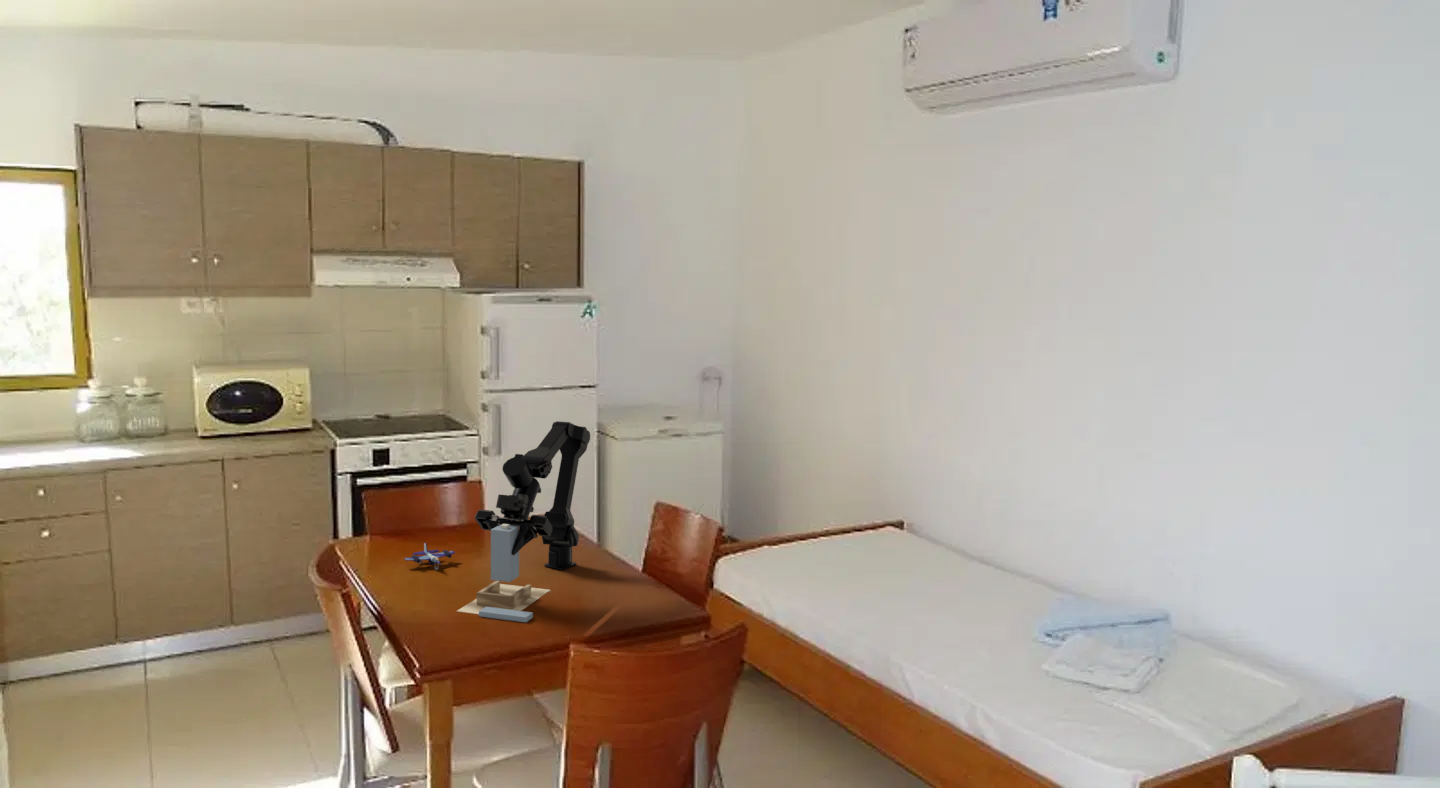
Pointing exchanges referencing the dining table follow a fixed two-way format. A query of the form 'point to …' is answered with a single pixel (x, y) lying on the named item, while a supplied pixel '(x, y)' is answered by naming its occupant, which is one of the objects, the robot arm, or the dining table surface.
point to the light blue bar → (505, 614)
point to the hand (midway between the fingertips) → (502, 553)
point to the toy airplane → (430, 556)
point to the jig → (504, 597)
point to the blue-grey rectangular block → (504, 553)
